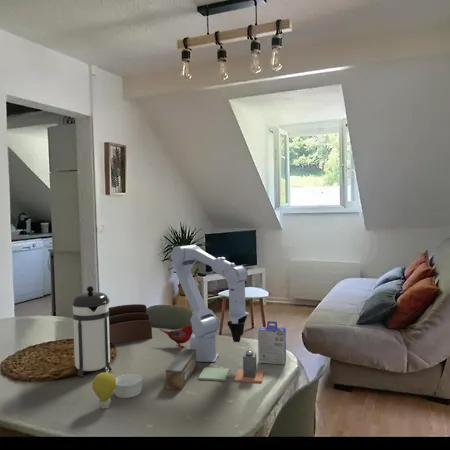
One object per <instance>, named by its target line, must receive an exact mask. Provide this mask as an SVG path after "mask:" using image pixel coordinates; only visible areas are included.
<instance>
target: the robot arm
mask: <svg viewBox="0 0 450 450" xmlns="http://www.w3.org/2000/svg"><path fill="white" fill-rule="evenodd" d="M170 258H171V260H172V263H173V266H174V271H175V275H176V277H177V279H178V281H179V284H180V286H181V288H182V290H183V293H184V294H185V298H186V299H187V302H188V305H189V307H190V309H191V312H192V316H191V317H190V319H189V321H190V325H192V331H193V332H192V335H191V337H190V339H189V349H196V362H202V363H203V362H204V363H215V362H216V360H217V359H218V357H219V353H217V345H216V343H217V339H216V337H217V336H216V334H217V333H218V332H217V331H218V330H219V329H220V325H221V323H220V320H219V319H218V317H217V316H216V315H215V314H214V311H213V310H212V309H210V308H208V307H207V306H206V303H205V301H204V299H203V296H202V295H201V292H200V290H199V288H198V286H197V283H196V280H195V278H194V276H193V274H192V272H191V270H192V268H193V266H194V265H195V263H196V262H197V261H198V262H200V263H203V264H204V265H207V266H209V267H211V270H212V272H214V273H216V274H218V275H219V276H220V277H223V278H224V279H225V281H226V282H227V288H228V302H229V303H228V312H229V313H228V316H229V318H230V319H231V320H229V321H227V326H228V328H229V330H230V333H231V338H232V341H233V343H240V342H241V336H243V334H244V330H245V323H246V320H247V318H248V316H249V315H250V312H249V311H248V312H247V311H246V280H247V279H248V275H249V274H248V269H247V268H246V267H245V266H244V265H242V264H241V265H236V264H235V262H230V261H228V260H226V257H224V256H221V257H215V256H213V255H212V254H209V253H207V252H206V251H205V250H203V249H201V247H200V246H198V245H197V244H193V243H192V244H190V245H189V244H188V245H187V244H186V245H180V246H179V245H178V246H177V245H176V246H174V247H173V249H172V251H171V254H170Z"/></svg>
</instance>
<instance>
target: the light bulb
mask: <svg viewBox="0 0 450 450" xmlns="http://www.w3.org/2000/svg"><path fill="white" fill-rule="evenodd" d="M115 378H116V376H114V375H113V374H112V373H110V372H106V371H105V372H100V373H98V374H97V375H95V377H94V378H93V380H92V383H91V385H92V386H91V387H92V390H93V392H94V393H95V395H96V397H97V398H98V399H99V400H98V405H100V409H102V408H106V409H108V408H110V404H111V396H112V395H113V393H114V392H115V387H116V379H115ZM107 407H108V408H107Z"/></svg>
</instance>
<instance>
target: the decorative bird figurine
mask: <svg viewBox="0 0 450 450" xmlns="http://www.w3.org/2000/svg"><path fill="white" fill-rule="evenodd" d="M159 330H160V331H161V332H163V333H165V334H166V335H167V336H168V337H169V338H170V339H171V340H172V341H174V342H175V343H176V344H175V346H177V347H179V348H182V349H184V348H185V346H184V345H182V344H186V343H187V342H188V341H190V340H191V336H192V335H193V331H192V324H191V323H190V324H185V325H184V326H183V327H182V328H177V329H176V328H175V329H173V330H170V331H168V330H165V329H162V328H159Z"/></svg>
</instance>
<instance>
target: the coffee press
mask: <svg viewBox="0 0 450 450" xmlns="http://www.w3.org/2000/svg"><path fill="white" fill-rule="evenodd" d="M86 291H87V292H82V293H79V294H77V295H76V296H74V298H73V299H72V301H71V307H72V319H73V321H72V323H73V325H72V326H73V349H74V351H73V352H74V368H75V367H76V368H75V369H77V370H78V371H77V373H76V374H77V377H78V376H80V377H79V378H82V377H81V373H83V376H84V375H85V373H86V372H94V371H99V370H104V371H105V372H107V371H109V372H108V373H110V372H111V371H112V366H110V362H111V354H110V353H111V347H110V346H111V344H110V341H109V308H110V307H109V303H110V299H109V297H108V295H107V294H105V293H104V292H99V291H94V287H93V286H91V285H90V286H88V287H87V288H86Z"/></svg>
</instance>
